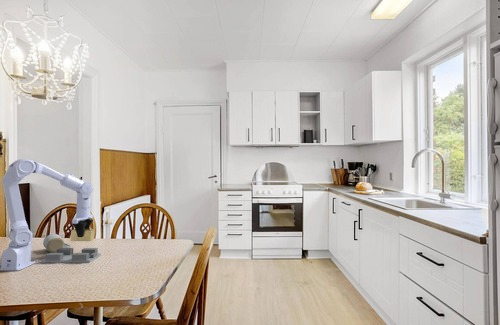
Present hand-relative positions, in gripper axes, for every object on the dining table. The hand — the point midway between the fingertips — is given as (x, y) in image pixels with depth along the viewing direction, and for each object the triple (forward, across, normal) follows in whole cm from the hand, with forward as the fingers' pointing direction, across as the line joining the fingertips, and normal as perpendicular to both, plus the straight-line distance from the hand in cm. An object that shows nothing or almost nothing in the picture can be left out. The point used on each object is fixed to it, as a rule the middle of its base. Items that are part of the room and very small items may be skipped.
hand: (82, 236), depth 131 cm
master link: (+2, 0, 0) cm, 2 cm away
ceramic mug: (+9, +6, +15) cm, 18 cm away
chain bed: (+8, -8, 0) cm, 11 cm away
